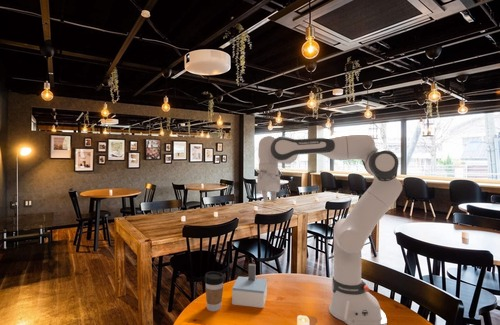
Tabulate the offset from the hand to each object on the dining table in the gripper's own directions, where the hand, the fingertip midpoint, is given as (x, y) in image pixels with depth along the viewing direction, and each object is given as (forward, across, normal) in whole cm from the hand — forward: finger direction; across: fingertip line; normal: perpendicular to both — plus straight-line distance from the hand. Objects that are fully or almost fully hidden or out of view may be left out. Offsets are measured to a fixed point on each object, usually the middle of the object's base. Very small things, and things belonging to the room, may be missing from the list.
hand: (269, 201), depth 121 cm
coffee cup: (+45, -9, +24) cm, 52 cm away
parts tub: (+44, +4, +13) cm, 46 cm away
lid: (+38, +3, +12) cm, 40 cm away
